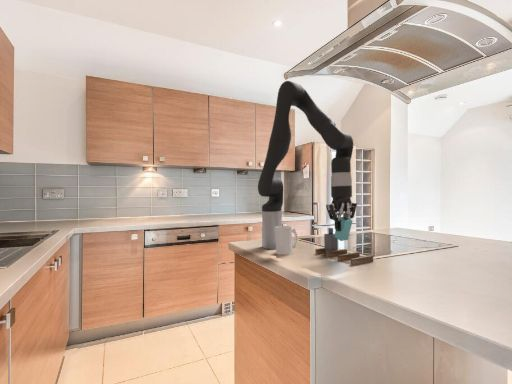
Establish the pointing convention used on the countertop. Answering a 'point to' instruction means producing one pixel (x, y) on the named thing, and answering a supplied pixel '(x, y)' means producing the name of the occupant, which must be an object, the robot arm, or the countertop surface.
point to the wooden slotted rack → (344, 256)
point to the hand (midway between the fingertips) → (342, 230)
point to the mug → (285, 240)
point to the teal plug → (344, 228)
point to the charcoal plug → (330, 241)
